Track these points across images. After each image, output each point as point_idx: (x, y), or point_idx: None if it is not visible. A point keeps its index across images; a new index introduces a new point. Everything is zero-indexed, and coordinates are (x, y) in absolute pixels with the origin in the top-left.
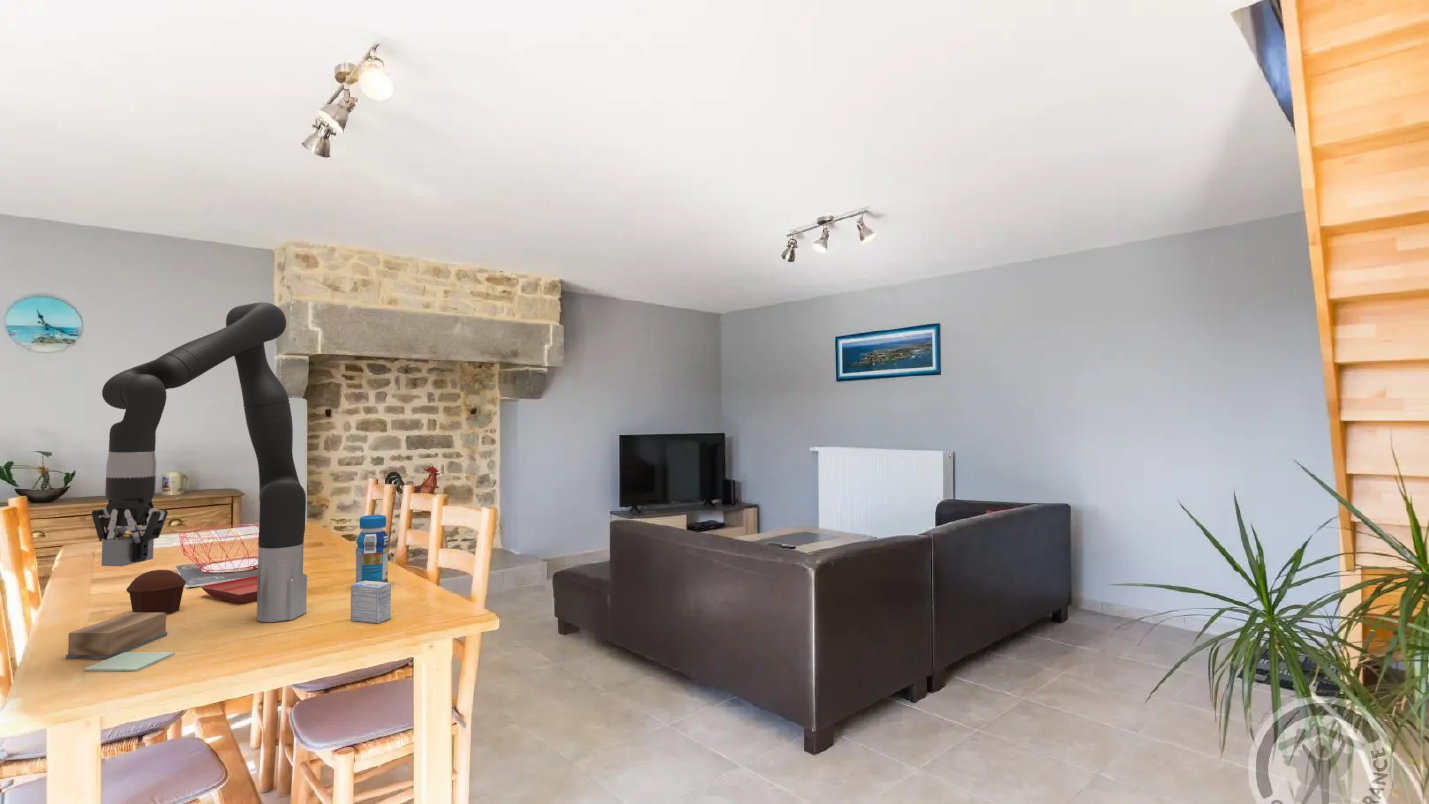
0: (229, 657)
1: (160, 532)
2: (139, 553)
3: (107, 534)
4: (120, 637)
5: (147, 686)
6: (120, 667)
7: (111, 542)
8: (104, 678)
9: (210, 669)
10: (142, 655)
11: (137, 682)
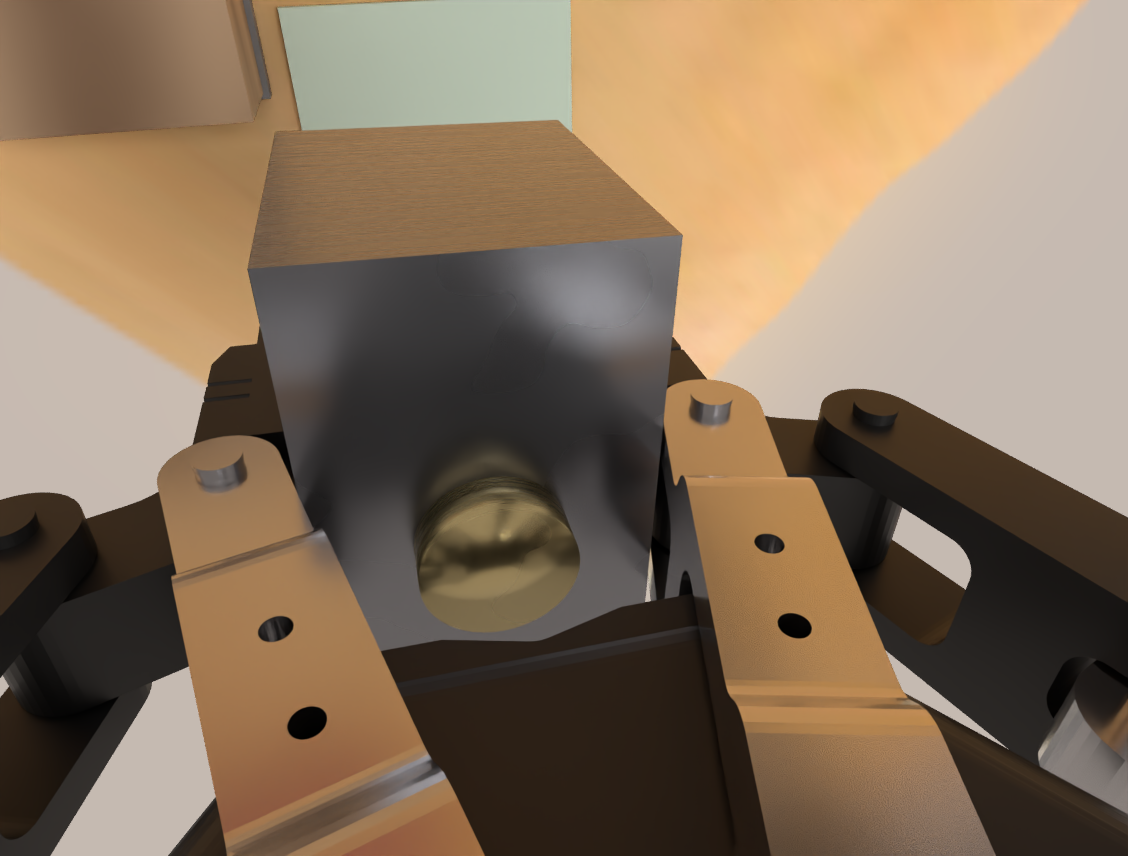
0: (860, 15)
1: (961, 430)
2: None
3: (159, 677)
4: (237, 18)
5: (724, 350)
6: None
7: None
8: None
9: (850, 174)
10: (437, 58)
11: None
